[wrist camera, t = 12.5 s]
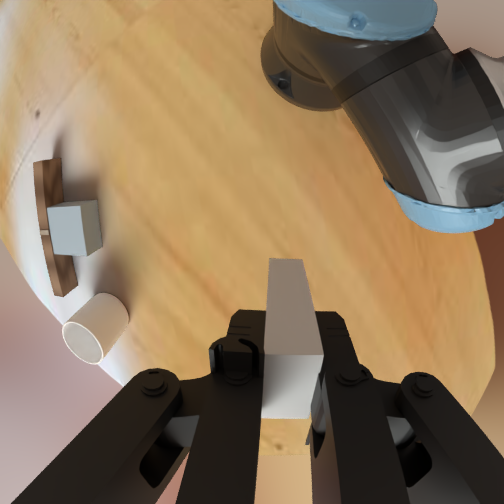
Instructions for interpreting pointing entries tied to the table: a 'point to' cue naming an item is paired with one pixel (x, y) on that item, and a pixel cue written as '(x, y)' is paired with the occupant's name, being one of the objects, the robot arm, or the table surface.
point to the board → (47, 196)
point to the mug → (96, 327)
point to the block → (75, 228)
